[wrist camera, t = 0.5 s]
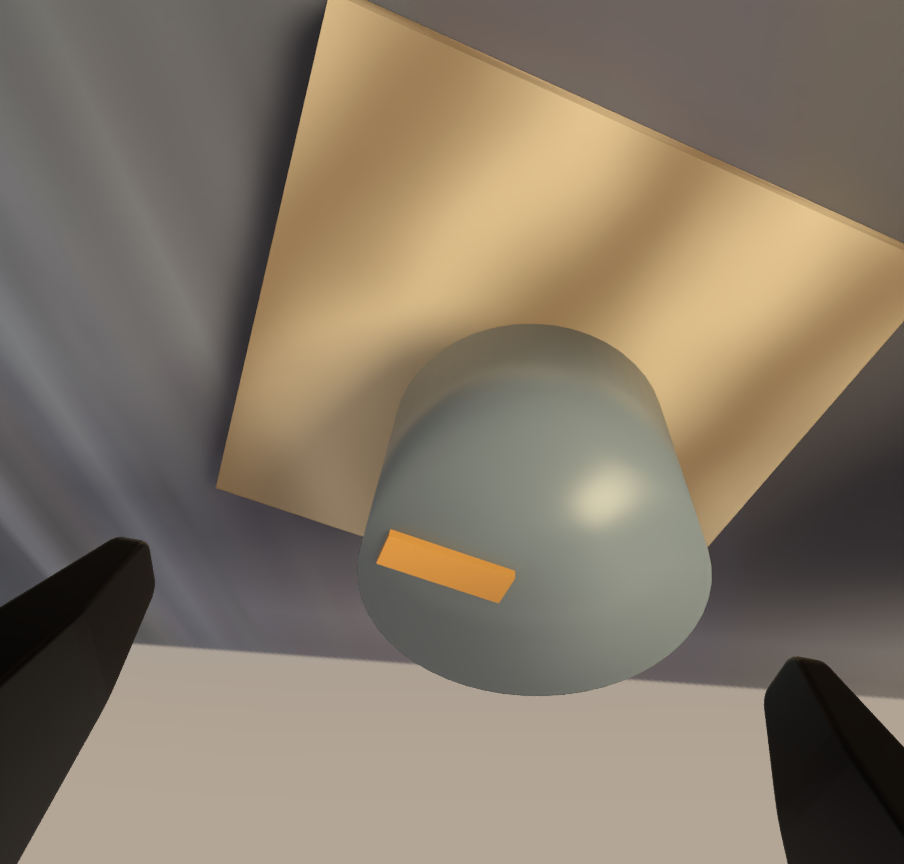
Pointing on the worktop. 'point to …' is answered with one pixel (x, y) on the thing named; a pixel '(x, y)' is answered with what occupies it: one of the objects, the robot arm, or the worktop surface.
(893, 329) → the base
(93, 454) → the worktop surface
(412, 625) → the cap
